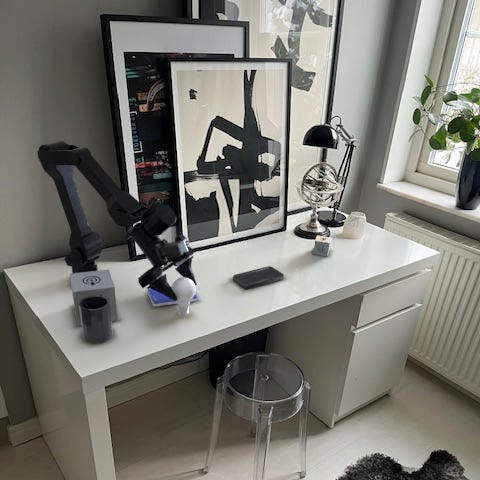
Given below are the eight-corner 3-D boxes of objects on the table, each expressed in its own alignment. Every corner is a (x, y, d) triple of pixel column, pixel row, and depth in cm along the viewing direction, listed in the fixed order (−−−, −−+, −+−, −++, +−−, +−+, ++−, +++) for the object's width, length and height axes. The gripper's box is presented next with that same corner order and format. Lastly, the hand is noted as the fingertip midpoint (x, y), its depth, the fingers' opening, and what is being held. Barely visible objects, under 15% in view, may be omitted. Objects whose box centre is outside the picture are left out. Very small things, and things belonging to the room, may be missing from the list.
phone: (231, 275, 153) (270, 265, 161) (231, 278, 154) (270, 268, 161) (246, 286, 148) (285, 275, 155) (245, 289, 149) (285, 278, 156)
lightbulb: (197, 320, 133) (198, 283, 127) (173, 322, 132) (173, 285, 126) (193, 307, 138) (193, 272, 132) (170, 309, 137) (169, 273, 131)
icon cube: (117, 320, 131) (114, 287, 125) (77, 326, 127) (73, 292, 122) (111, 301, 138) (108, 269, 133) (74, 306, 135) (69, 273, 130)
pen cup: (81, 343, 121) (77, 310, 116) (84, 328, 127) (80, 295, 122) (111, 342, 122) (108, 309, 117) (113, 327, 128) (110, 294, 123)
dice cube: (329, 250, 176) (331, 237, 174) (327, 256, 172) (329, 243, 170) (315, 248, 177) (317, 235, 175) (313, 254, 173) (315, 240, 171)
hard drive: (153, 302, 136) (197, 296, 140) (147, 288, 143) (189, 283, 147) (153, 307, 137) (197, 301, 141) (147, 293, 144) (189, 288, 148)
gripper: (146, 240, 117) (185, 294, 119) (188, 217, 131) (223, 265, 133) (121, 262, 124) (159, 313, 126) (164, 238, 138) (197, 283, 140)
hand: (186, 292), depth 131 cm, fingers open, 9 cm apart
